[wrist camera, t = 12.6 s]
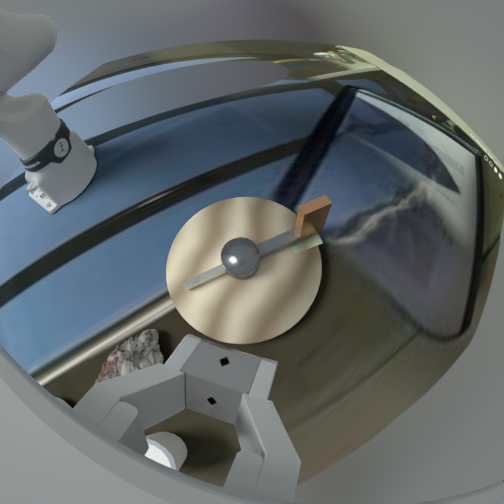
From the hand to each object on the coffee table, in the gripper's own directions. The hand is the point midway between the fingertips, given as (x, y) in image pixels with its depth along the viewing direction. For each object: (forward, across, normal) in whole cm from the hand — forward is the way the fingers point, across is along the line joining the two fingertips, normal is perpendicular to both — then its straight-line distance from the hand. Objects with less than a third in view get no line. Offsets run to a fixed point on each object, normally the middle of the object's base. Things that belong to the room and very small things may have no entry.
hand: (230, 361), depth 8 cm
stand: (+28, +6, +11) cm, 31 cm away
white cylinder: (+8, +8, +31) cm, 33 cm away
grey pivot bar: (+28, +5, +8) cm, 29 cm away
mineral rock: (+14, +17, +25) cm, 33 cm away
